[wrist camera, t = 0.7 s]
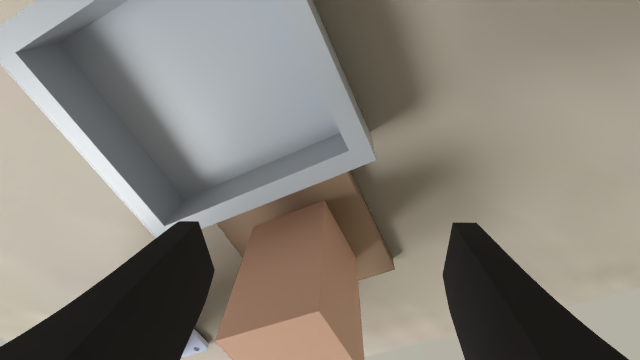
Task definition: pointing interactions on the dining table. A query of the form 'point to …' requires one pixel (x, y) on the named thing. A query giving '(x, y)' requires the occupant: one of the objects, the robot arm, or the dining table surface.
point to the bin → (191, 99)
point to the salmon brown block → (295, 293)
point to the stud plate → (345, 211)
